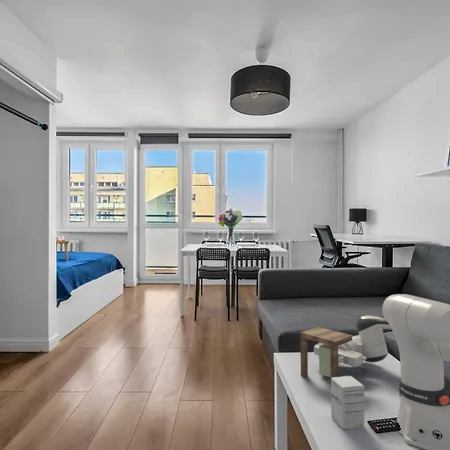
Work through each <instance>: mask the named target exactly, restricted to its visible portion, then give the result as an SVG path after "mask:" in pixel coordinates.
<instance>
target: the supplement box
mask: <svg viewBox="0 0 450 450" xmlns="http://www.w3.org/2000/svg"><path fill="white" fill-rule="evenodd" d="M330 389H331V391H330V395H331V396H330V399H331V400H330V401H331V407H330V409H331V410H330V412H331V416H330V417H331V418H332V419H333V420H334V421H335V422H336V423H337V424H338V425H339V427H340V428H341V429H342V430H351V429H357V428H365V385H364V384H362V383H361V382H360V381H358V380H357V379H356V378H355V377H353V376H338V377H333V378H331V377H330Z"/></svg>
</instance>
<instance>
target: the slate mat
mask: <svg viewBox="0 0 450 450" xmlns="http://www.w3.org/2000/svg"><path fill="white" fill-rule="evenodd" d="M361 372H362V370H361V369H358V368H354V367H352V366H351V367H350V366H349V365H346V364H343V363H338V376H339V377H343V376H352V377H353V376H355V375H358V374H360V373H361Z"/></svg>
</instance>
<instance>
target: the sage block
mask: <svg viewBox="0 0 450 450" xmlns="http://www.w3.org/2000/svg"><path fill="white" fill-rule="evenodd" d="M318 368H319V369H318V371H319V374H320V375H323V376H324V377H328V378H331V349H330V346H329V345H326V344H323V345H321V346H319V356H318Z"/></svg>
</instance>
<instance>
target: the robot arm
mask: <svg viewBox="0 0 450 450" xmlns="http://www.w3.org/2000/svg"><path fill="white" fill-rule="evenodd" d="M381 309H382V311H381V312H382V315H383V317H381V316H374V315H362V316H360V317H358V319H357V321H356V323H355V327H356V329H357V332H358V335H352V341H350V342H347V343H345V344H342V345H339V346H338V363H339V364H343V365H346V366H349V367H350V366H351V367H352V368H354V367H355V368H357V367H359V366H361V365H362V364H363V363H364V361H365V362H366V363H377V362H382V361H383V360H385V359H386V358H387V356H388V355H389V352H388V348H387V347H388V346H387V344H386V340H385V336H384V329H386V330H392V332H393V335H394V338H395V340H396V343H397V346H398V352H399V358H400V359H399V360H400V361H399V362H400V378H399V381H398V393H399V397H400V399H399V400H400V401H399V408H398V414H397V418H396V421H398V423H399V425H400V428H401V430H400V431H398V433H400V434H401V436H402V437H403V440H404V441H405V443H406V444H409V445H411V446H415V447H418V448H420V449H423V450H450V391H449V389H448V388H447V387H446V386H445V375H444V366H445V365H444V362H450V304H449V303H446V302H441V301H437V300H432V299H430V298H429V299H428V298H424V297H420V296H417V295H411V294H406V293H402V294H401V293H397V294H396V293H395V294H391V295H389V296H387V297H386V298H385V300H384V301H383V304H382V308H381ZM321 345H323V344H322V343H319V342H318V343H317V344H315V345H314V347H313V353H314V355H315V356H318V357H319V346H321Z"/></svg>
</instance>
